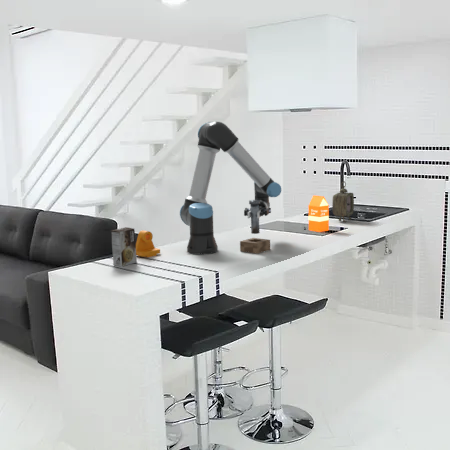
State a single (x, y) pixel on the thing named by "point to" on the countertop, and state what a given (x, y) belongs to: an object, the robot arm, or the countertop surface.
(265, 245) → the socket block
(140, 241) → the bracket
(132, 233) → the coffee box
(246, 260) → the countertop surface
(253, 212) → the steel pin
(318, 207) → the orange juice
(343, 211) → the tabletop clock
